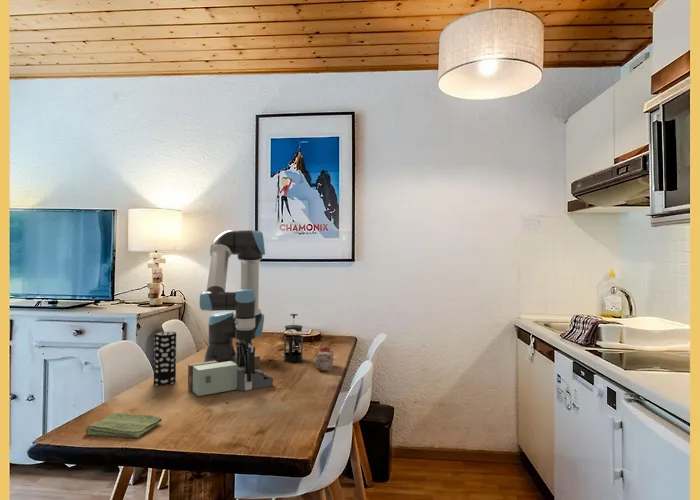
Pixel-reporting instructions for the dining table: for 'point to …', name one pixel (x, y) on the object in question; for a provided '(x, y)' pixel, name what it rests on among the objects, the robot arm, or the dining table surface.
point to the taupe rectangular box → (190, 366)
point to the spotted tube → (164, 358)
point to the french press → (296, 355)
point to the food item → (324, 359)
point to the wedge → (253, 379)
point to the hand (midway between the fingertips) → (245, 387)
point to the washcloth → (123, 425)
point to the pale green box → (214, 378)
